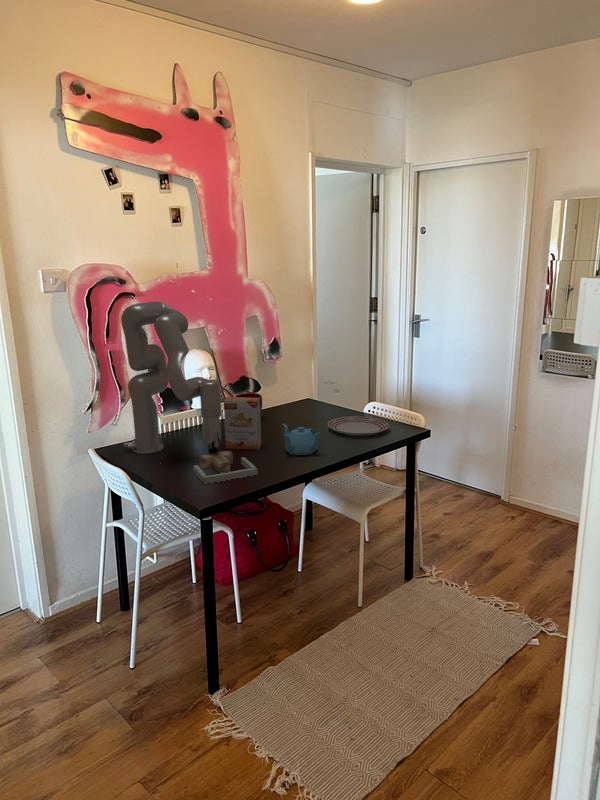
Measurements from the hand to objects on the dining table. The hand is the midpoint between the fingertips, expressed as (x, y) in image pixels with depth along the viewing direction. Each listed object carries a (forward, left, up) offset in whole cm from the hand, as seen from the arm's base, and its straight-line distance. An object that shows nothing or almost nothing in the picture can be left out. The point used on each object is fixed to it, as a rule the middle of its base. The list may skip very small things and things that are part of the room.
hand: (213, 457), depth 234 cm
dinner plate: (+70, +9, -2) cm, 71 cm away
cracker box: (+16, +10, -2) cm, 19 cm away
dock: (0, -15, -1) cm, 15 cm away
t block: (0, -8, -1) cm, 8 cm away
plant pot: (+32, +47, -2) cm, 57 cm away
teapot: (+34, -6, -2) cm, 34 cm away
